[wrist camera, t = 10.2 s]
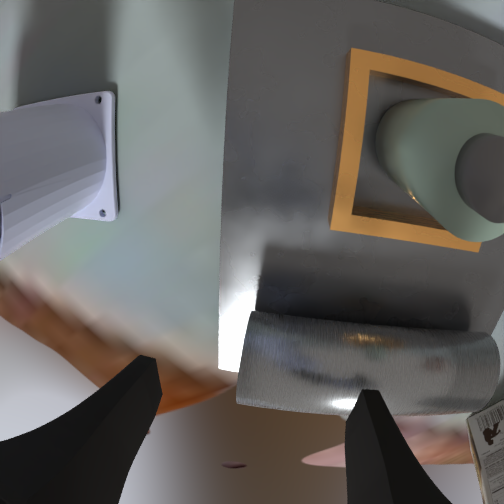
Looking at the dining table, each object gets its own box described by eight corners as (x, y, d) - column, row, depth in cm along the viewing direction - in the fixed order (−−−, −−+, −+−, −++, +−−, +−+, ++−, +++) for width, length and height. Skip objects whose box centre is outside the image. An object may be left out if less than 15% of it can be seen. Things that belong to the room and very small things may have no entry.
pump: (373, 189, 14) (427, 255, 8) (374, 94, 12) (440, 85, 6) (454, 193, 13) (537, 256, 7) (459, 105, 11) (557, 117, 5)
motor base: (225, 349, 22) (199, 428, 16) (243, 0, 12) (205, -60, 6) (453, 368, 20) (479, 437, 14) (538, 77, 10) (614, 81, 4)
